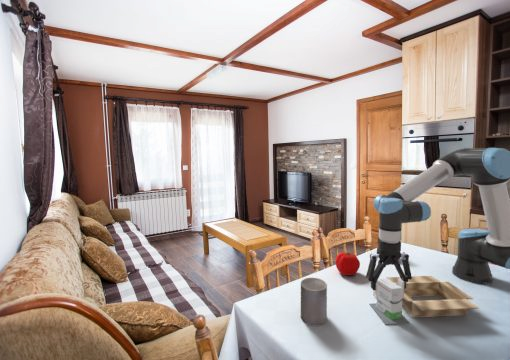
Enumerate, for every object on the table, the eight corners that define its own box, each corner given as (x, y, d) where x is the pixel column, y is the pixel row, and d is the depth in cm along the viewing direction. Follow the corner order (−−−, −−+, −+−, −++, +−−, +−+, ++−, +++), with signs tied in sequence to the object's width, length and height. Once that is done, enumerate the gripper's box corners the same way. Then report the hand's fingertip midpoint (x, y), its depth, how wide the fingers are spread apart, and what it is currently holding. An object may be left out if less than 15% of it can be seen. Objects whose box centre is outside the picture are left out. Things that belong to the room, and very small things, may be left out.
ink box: (402, 318, 100) (404, 287, 99) (391, 320, 99) (392, 289, 97) (386, 305, 108) (387, 277, 107) (375, 307, 107) (376, 279, 106)
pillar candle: (299, 310, 107) (298, 274, 106) (323, 309, 107) (323, 274, 105) (302, 326, 98) (302, 287, 96) (329, 326, 97) (330, 286, 96)
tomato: (331, 274, 137) (331, 253, 136) (340, 266, 146) (340, 246, 145) (354, 281, 130) (355, 258, 128) (363, 272, 138) (363, 251, 137)
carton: (437, 288, 121) (438, 275, 120) (486, 323, 97) (487, 307, 96) (379, 290, 120) (379, 277, 120) (413, 326, 96) (413, 310, 95)
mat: (391, 303, 110) (391, 302, 110) (410, 324, 97) (410, 322, 97) (369, 304, 110) (369, 303, 110) (385, 325, 97) (385, 324, 97)
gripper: (412, 235, 104) (410, 290, 107) (356, 237, 104) (356, 292, 107) (425, 242, 97) (422, 301, 100) (365, 244, 96) (364, 303, 99)
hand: (388, 296), depth 103 cm, fingers open, 9 cm apart
